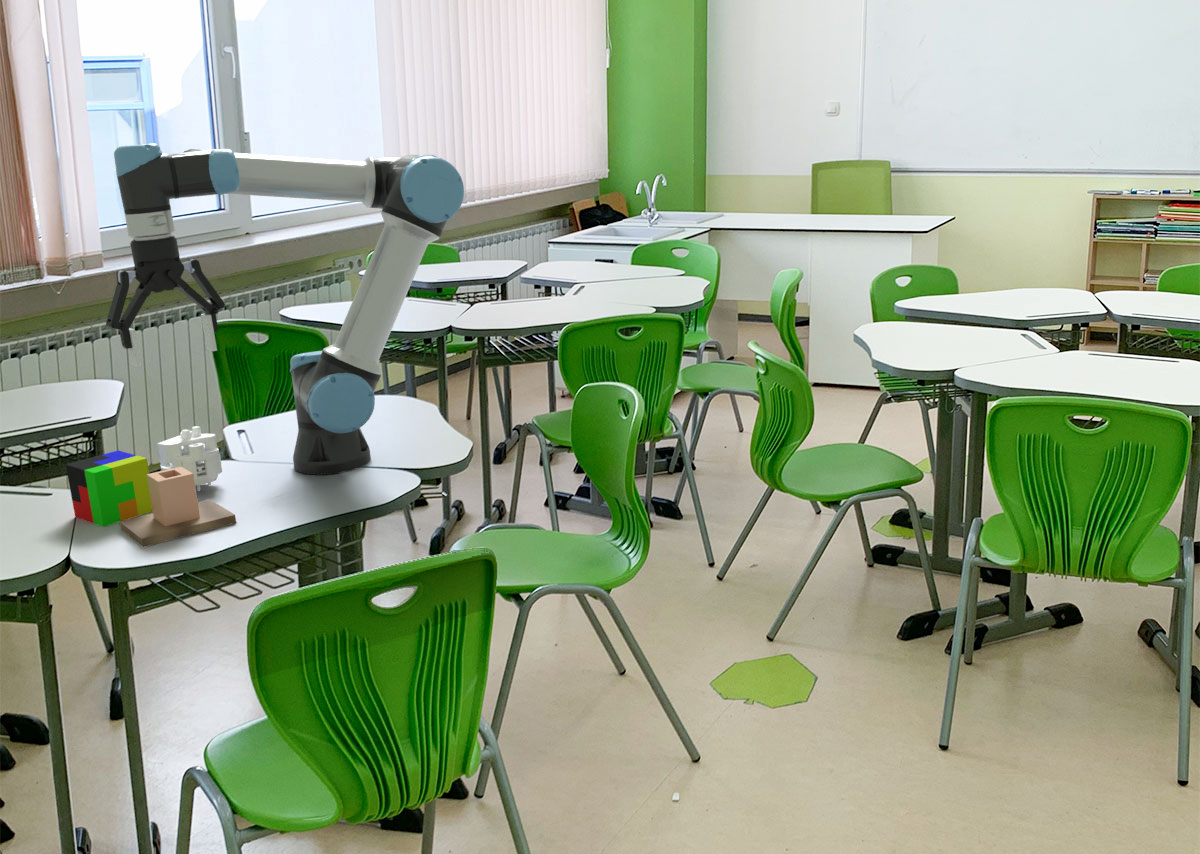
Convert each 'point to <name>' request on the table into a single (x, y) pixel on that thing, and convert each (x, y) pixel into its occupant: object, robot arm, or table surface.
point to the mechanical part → (192, 455)
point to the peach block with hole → (173, 496)
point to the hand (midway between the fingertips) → (175, 358)
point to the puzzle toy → (109, 487)
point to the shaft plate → (176, 525)
